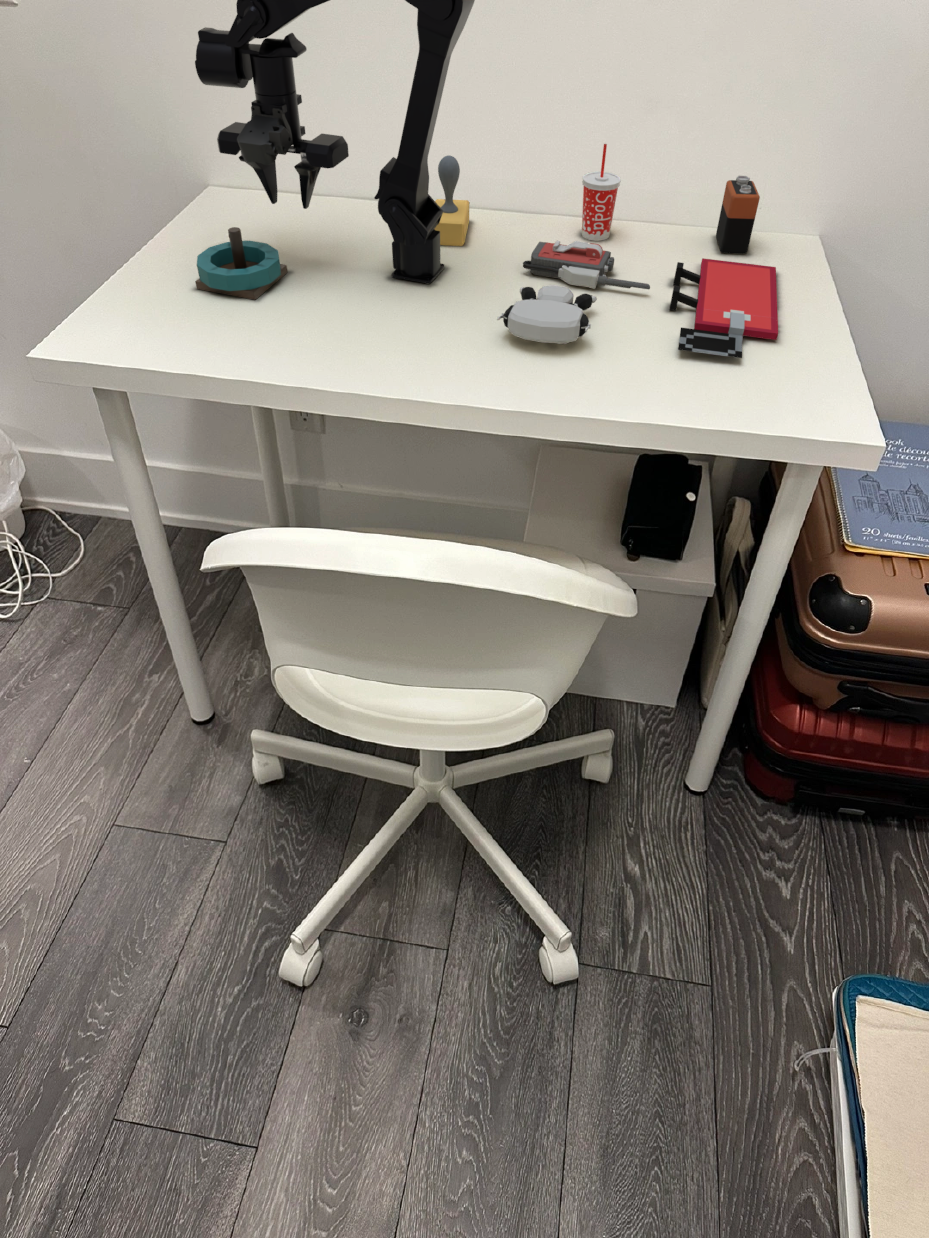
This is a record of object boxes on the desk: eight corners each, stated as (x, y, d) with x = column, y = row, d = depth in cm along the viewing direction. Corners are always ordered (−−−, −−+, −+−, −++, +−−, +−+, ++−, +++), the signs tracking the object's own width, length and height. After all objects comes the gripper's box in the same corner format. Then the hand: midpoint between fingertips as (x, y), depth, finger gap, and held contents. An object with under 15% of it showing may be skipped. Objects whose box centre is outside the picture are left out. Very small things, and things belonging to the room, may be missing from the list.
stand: (287, 272, 138) (280, 221, 133) (255, 300, 132) (246, 248, 126) (231, 262, 141) (222, 212, 135) (196, 289, 134) (185, 237, 129)
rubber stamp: (435, 220, 153) (434, 145, 144) (469, 222, 152) (470, 146, 144) (428, 244, 146) (427, 166, 137) (464, 246, 145) (464, 168, 137)
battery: (741, 238, 148) (755, 174, 141) (747, 255, 144) (762, 190, 136) (714, 237, 149) (727, 173, 141) (720, 254, 144) (733, 189, 137)
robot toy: (516, 306, 132) (494, 347, 121) (518, 275, 129) (495, 314, 118) (598, 316, 130) (583, 359, 119) (602, 285, 127) (587, 326, 116)
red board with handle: (662, 354, 120) (776, 369, 118) (666, 334, 118) (782, 350, 116) (676, 264, 141) (773, 276, 139) (679, 246, 139) (778, 258, 137)
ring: (294, 263, 138) (292, 247, 136) (255, 296, 130) (252, 280, 128) (226, 251, 141) (224, 236, 139) (184, 283, 133) (181, 267, 131)
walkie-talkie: (517, 280, 137) (647, 299, 132) (519, 251, 134) (651, 270, 129) (533, 256, 143) (657, 275, 138) (534, 228, 140) (662, 246, 135)
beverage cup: (574, 240, 147) (583, 149, 137) (579, 226, 151) (588, 136, 141) (611, 244, 146) (623, 152, 136) (615, 229, 150) (626, 139, 140)
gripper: (186, 99, 122) (208, 216, 133) (308, 115, 117) (321, 234, 128) (228, 77, 129) (246, 190, 140) (345, 92, 125) (354, 207, 136)
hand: (290, 205), depth 136 cm, fingers open, 5 cm apart
